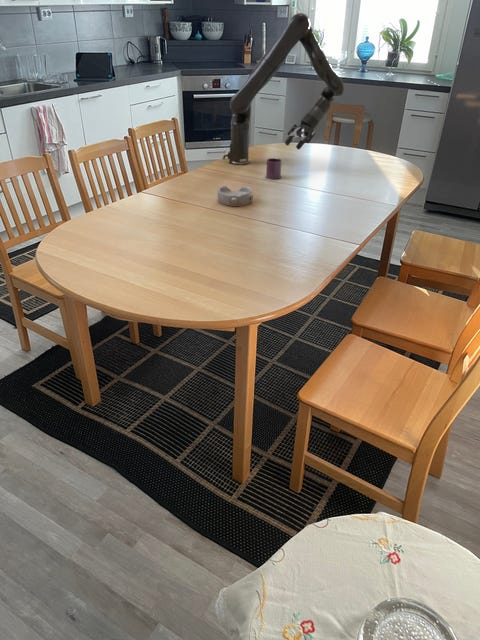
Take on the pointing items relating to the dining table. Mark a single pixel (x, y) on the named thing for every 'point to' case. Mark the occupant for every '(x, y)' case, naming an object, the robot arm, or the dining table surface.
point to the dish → (235, 196)
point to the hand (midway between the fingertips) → (291, 146)
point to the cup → (273, 168)
